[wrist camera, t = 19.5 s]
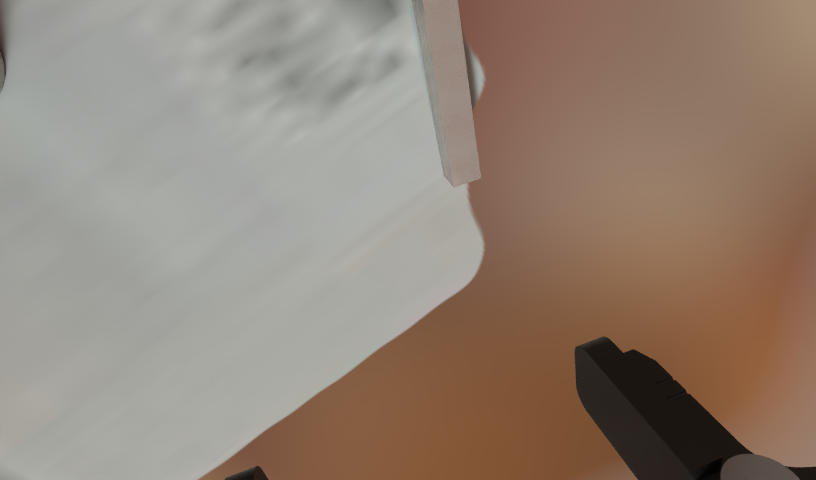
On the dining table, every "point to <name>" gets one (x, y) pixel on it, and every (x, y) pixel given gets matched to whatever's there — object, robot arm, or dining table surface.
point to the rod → (448, 88)
